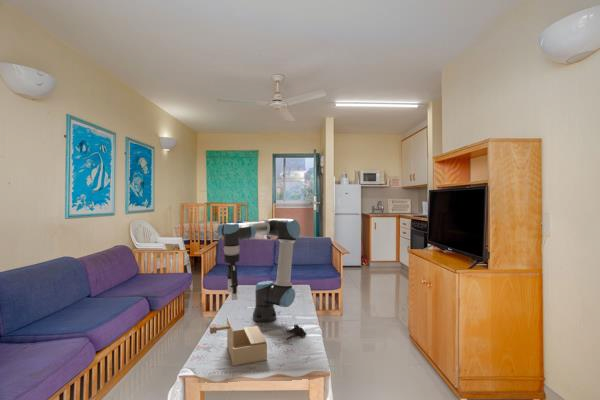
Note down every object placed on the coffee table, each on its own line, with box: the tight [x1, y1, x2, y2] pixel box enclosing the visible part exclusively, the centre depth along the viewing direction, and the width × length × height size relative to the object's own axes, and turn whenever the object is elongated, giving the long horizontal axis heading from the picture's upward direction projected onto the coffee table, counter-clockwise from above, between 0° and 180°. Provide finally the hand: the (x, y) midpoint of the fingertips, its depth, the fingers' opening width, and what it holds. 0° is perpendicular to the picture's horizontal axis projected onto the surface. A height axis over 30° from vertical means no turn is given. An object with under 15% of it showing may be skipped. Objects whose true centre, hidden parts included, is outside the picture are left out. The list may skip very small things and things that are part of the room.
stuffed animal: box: [285, 323, 307, 341], centre depth 176 cm, size 12×10×12 cm
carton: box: [226, 325, 268, 367], centre depth 154 cm, size 20×16×9 cm
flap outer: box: [209, 315, 234, 347], centre depth 150 cm, size 19×7×10 cm
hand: (232, 295), depth 156 cm, fingers open, 13 cm apart
